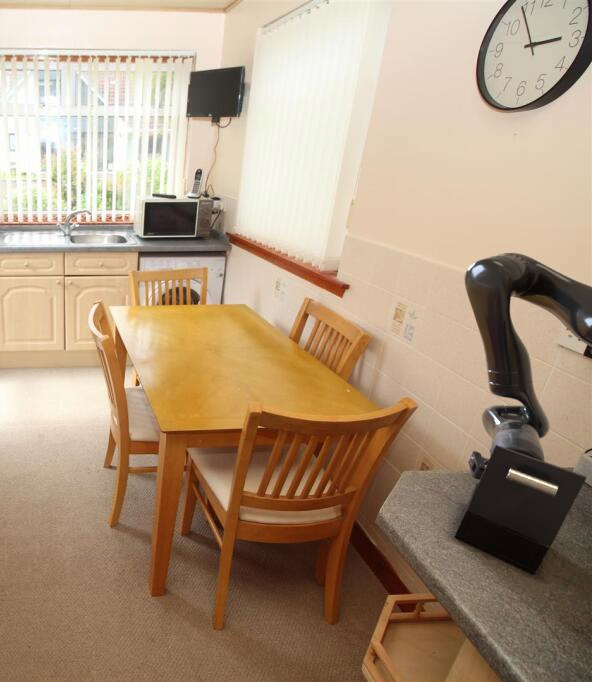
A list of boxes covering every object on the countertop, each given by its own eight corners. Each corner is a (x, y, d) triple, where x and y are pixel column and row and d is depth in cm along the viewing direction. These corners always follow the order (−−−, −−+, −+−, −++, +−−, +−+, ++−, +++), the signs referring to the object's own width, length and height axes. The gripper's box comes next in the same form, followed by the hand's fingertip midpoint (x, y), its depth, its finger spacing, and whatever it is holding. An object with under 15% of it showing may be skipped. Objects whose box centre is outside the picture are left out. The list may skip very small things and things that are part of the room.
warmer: (465, 506, 90) (476, 482, 88) (539, 538, 84) (553, 512, 81) (454, 537, 83) (465, 511, 81) (534, 575, 76) (549, 548, 74)
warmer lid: (495, 444, 77) (493, 453, 73) (586, 476, 70) (588, 487, 67) (467, 508, 81) (463, 520, 77) (550, 544, 74) (550, 559, 70)
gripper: (476, 424, 93) (473, 463, 80) (577, 454, 84) (591, 503, 72) (462, 456, 95) (457, 498, 83) (559, 488, 87) (569, 540, 75)
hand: (519, 500), depth 78 cm, fingers open, 5 cm apart
